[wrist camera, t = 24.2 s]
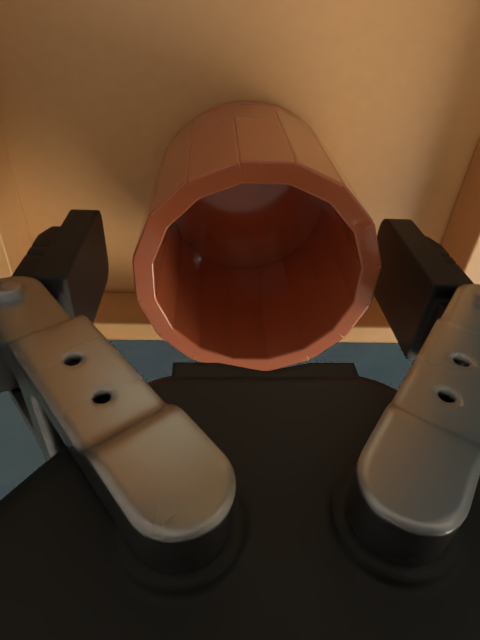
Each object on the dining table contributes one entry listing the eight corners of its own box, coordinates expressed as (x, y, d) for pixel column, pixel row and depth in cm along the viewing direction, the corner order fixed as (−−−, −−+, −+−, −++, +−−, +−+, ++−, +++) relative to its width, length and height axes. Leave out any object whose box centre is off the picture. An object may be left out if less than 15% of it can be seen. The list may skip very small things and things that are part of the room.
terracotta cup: (162, 268, 17) (143, 371, 13) (151, 94, 13) (119, 155, 9) (318, 272, 17) (352, 372, 13) (349, 104, 14) (411, 166, 9)
